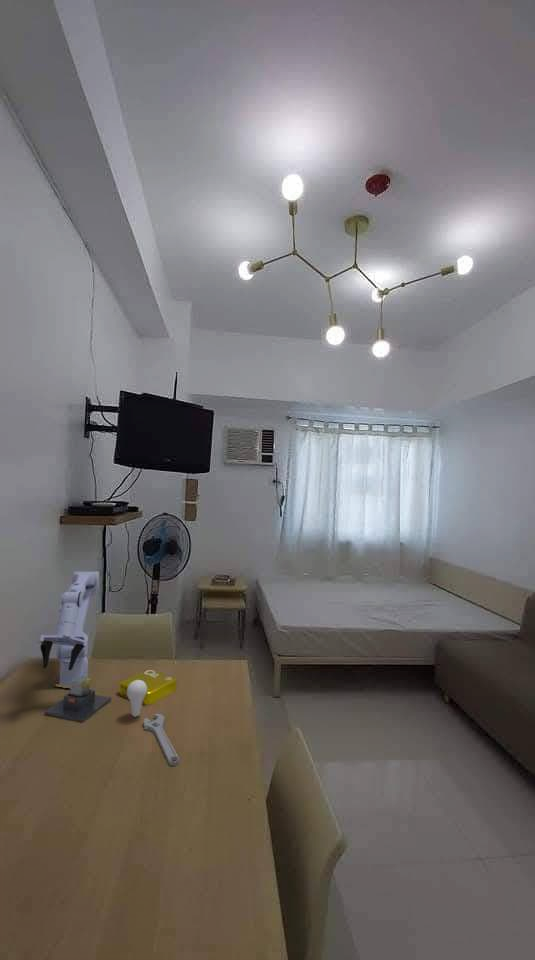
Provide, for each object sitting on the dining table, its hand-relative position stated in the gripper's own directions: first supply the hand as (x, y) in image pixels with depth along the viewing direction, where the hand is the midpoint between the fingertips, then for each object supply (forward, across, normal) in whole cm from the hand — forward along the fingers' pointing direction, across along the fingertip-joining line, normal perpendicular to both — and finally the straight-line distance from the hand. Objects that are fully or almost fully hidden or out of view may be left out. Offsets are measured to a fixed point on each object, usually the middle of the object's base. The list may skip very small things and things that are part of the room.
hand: (58, 668), depth 130 cm
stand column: (+8, +10, +6) cm, 15 cm away
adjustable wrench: (+24, +26, -19) cm, 41 cm away
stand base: (+9, +10, +7) cm, 16 cm away
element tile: (+5, +32, +4) cm, 33 cm away
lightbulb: (+15, +24, -6) cm, 29 cm away
